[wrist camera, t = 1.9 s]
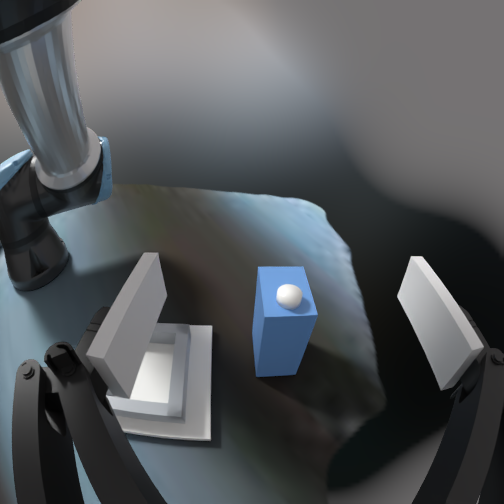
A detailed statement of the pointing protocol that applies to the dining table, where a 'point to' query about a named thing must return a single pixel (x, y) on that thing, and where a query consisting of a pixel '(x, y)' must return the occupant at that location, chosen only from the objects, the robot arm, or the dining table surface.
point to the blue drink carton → (281, 320)
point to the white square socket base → (171, 386)
